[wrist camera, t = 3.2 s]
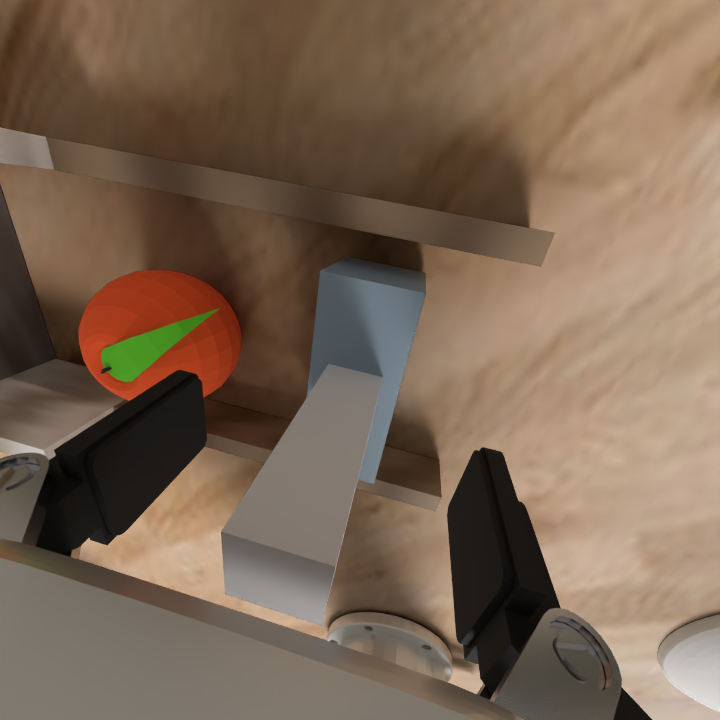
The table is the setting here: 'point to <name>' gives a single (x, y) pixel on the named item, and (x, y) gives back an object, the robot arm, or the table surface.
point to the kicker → (325, 441)
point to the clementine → (158, 332)
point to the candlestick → (694, 660)
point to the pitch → (223, 421)
